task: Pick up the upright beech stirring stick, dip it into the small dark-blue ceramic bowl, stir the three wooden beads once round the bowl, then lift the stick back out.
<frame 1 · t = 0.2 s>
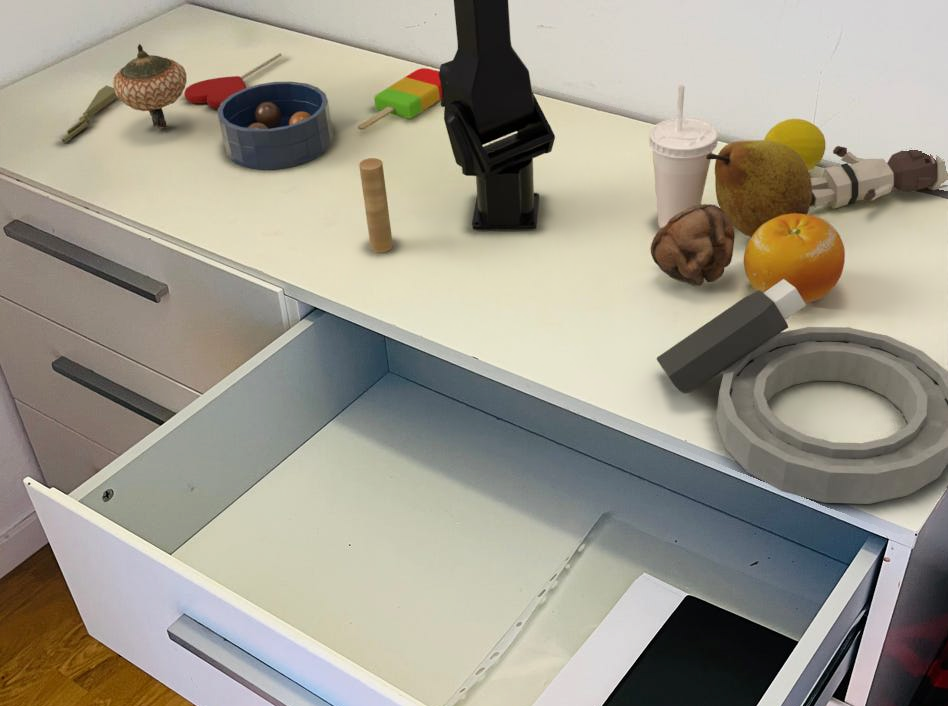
fruit: (789, 293, 106), on the table
fruit 2: (784, 217, 114), point 1 cm above the table
bead b: (258, 136, 130), point 2 cm above the table, touching bowl
brown walnut half: (712, 272, 105), point 3 cm above the table
bowl: (279, 143, 133), on the table
toy: (796, 197, 116), point 1 cm above the table
bead a: (268, 115, 134), point 2 cm above the table, touching bowl
lollipop: (243, 83, 145), on the table
usb drive: (722, 322, 95), point 5 cm above the table, touching mechanical component
olive green tapered piece: (88, 119, 140), on the table
acorn: (162, 130, 138), on the table
popsicle: (401, 111, 138), on the table
bead c: (302, 125, 131), point 2 cm above the table, touching bowl
smoothie: (677, 226, 116), on the table
fruit 3: (761, 147, 118), point 4 cm above the table
mechanical component: (833, 426, 93), on the table, touching usb drive
stick: (381, 246, 116), on the table
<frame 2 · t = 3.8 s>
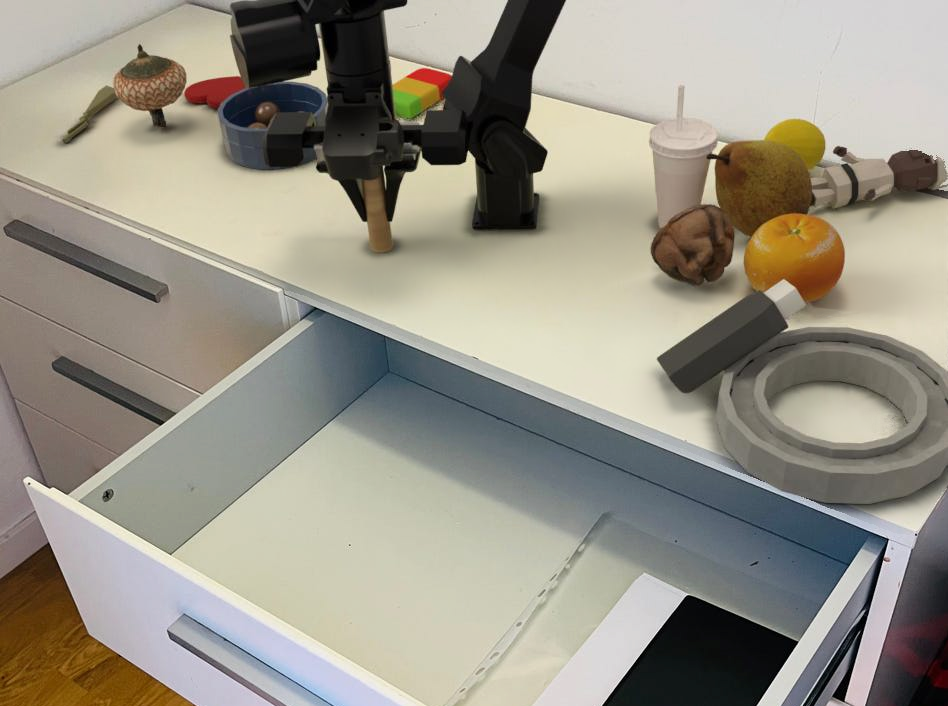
hand: (378, 219, 114), 3 cm above the table, tool pointing down, fingers closed on stick, 2 cm apart
stick: (381, 246, 116), on the table, touching gripper
everything else where it was.
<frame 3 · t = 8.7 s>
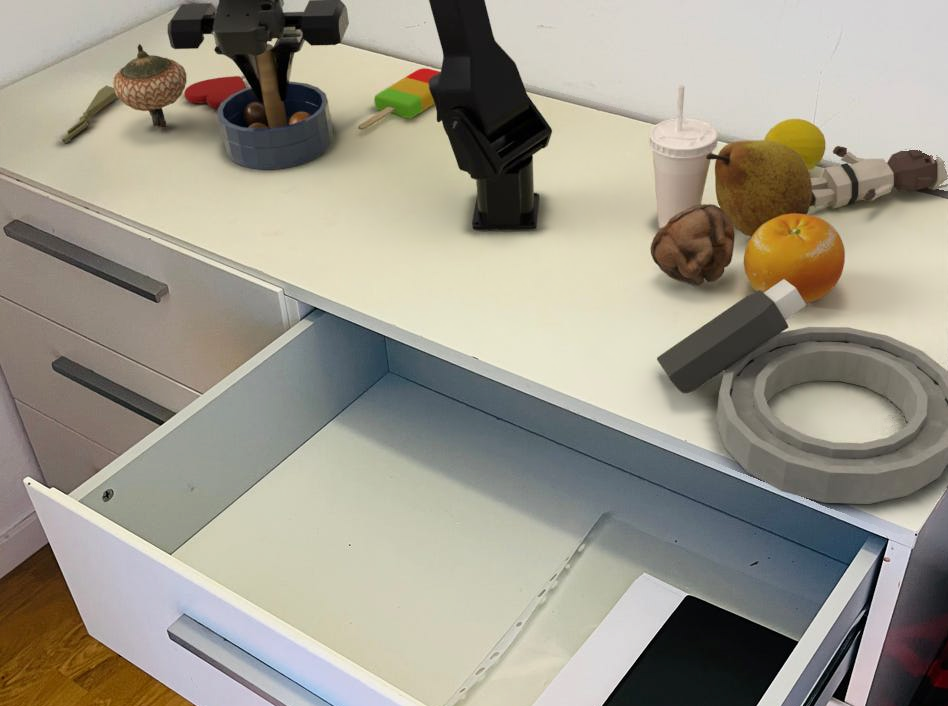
hand: (273, 100, 132), 4 cm above the table, tool pointing down, fingers closed on stick, 2 cm apart
bead a: (256, 115, 134), point 2 cm above the table, tilted 53°, touching bowl, stick
stick: (278, 125, 134), point 1 cm above the table, touching bead a, gripper
everything else where it was.
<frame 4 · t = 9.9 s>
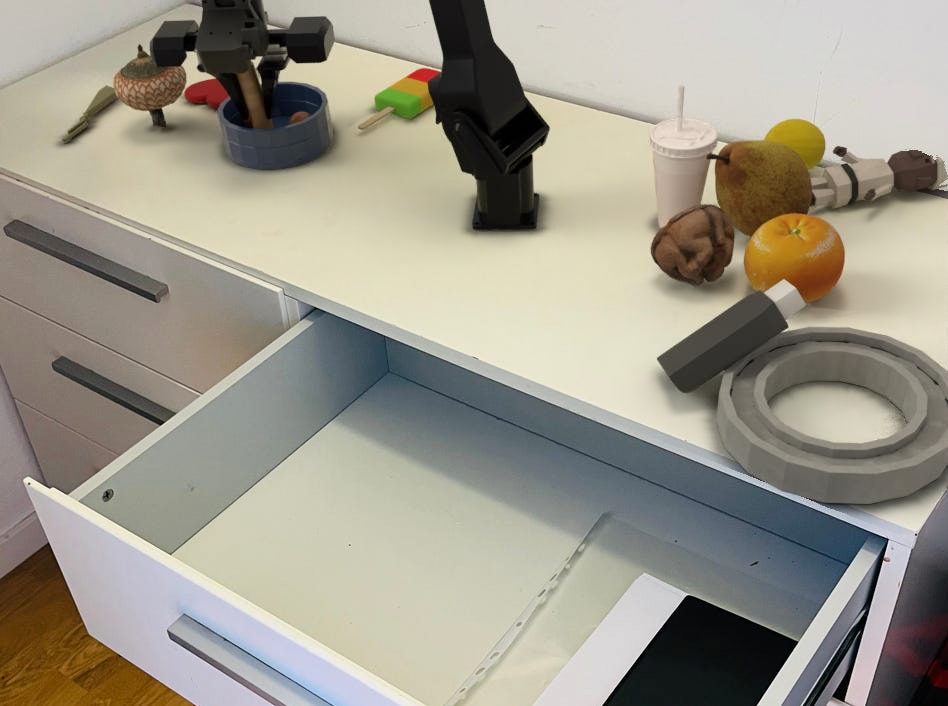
hand: (258, 118, 129), 4 cm above the table, tool pointing down, fingers closed on stick, 2 cm apart
bead b: (257, 141, 129), point 2 cm above the table, tilted 43°, touching bowl, stick
bead a: (254, 118, 133), point 2 cm above the table, tilted 35°, touching bowl
stick: (268, 142, 132), point 1 cm above the table, tilted 7°, touching bead b, gripper
everything else where it was.
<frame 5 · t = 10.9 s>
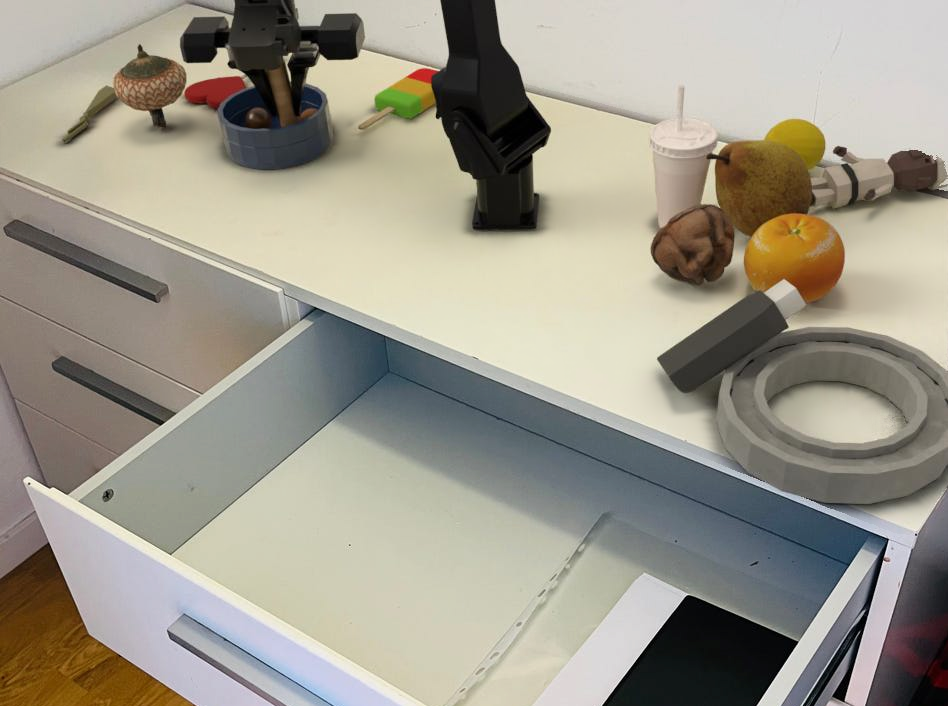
hand: (286, 115, 129), 4 cm above the table, tool pointing down, fingers closed on stick, 2 cm apart
bead b: (264, 142, 129), point 2 cm above the table, tilted 42°, touching bowl
bead a: (258, 121, 133), point 2 cm above the table, tilted 25°, touching bowl
bead c: (312, 122, 132), point 2 cm above the table, tilted 45°, touching bowl, stick
stick: (294, 139, 132), point 1 cm above the table, touching bead c, gripper
everything else where it was.
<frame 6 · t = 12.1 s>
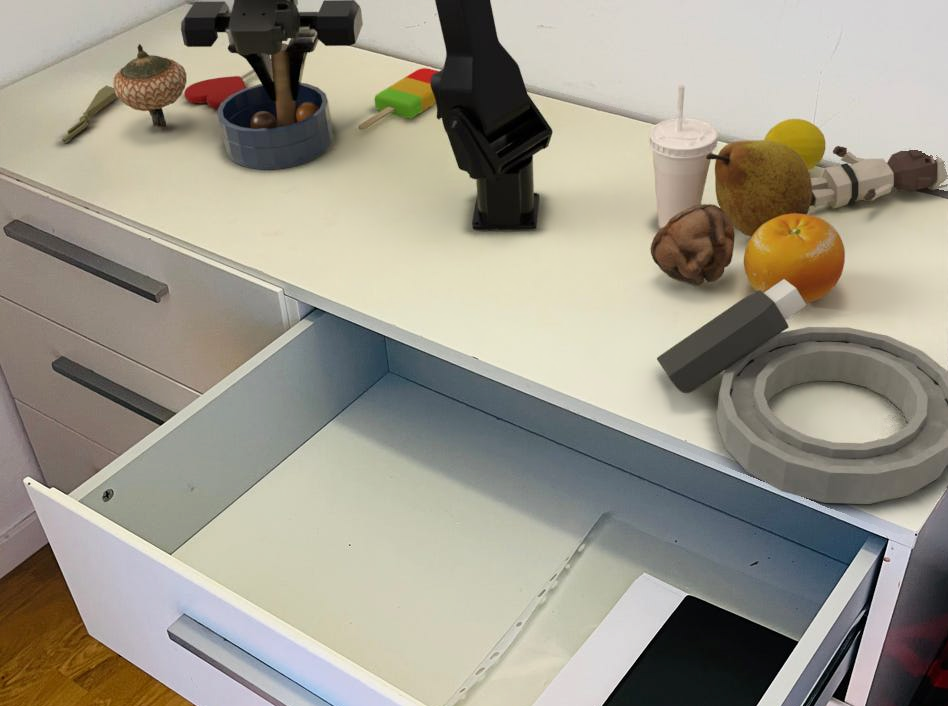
hand: (284, 99, 132), 4 cm above the table, tool pointing down, fingers closed on stick, 2 cm apart
bead a: (263, 124, 132), point 2 cm above the table, tilted 61°, touching bowl
bead c: (308, 115, 133), point 2 cm above the table, tilted 43°, touching bowl, stick
stick: (287, 125, 134), point 1 cm above the table, touching bead c, gripper
everything else where it was.
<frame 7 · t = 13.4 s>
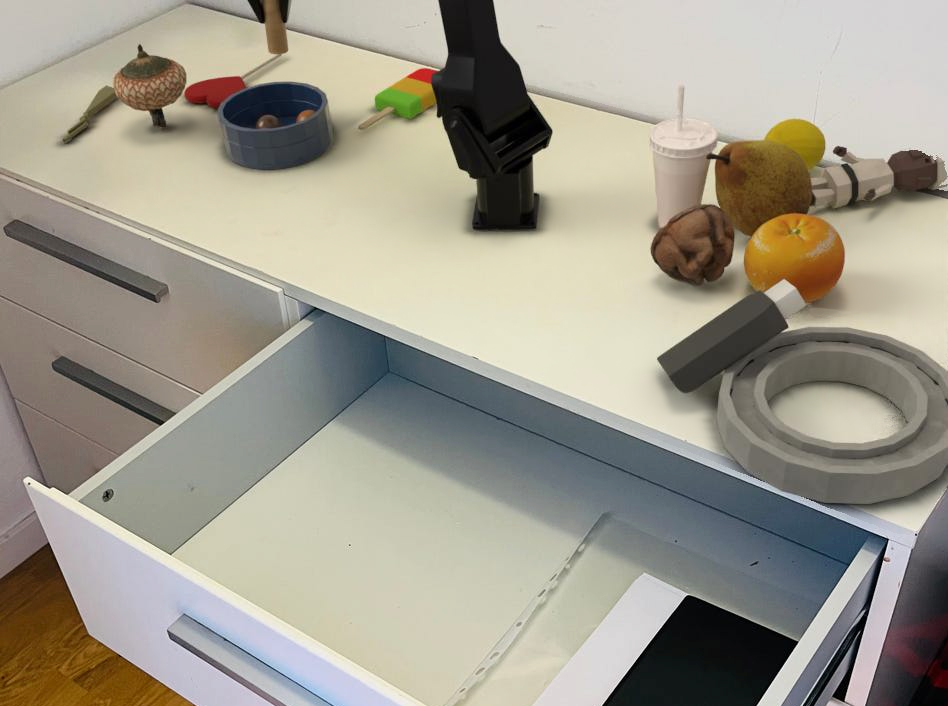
hand: (274, 22, 126), 13 cm above the table, tool pointing down, fingers closed on stick, 2 cm apart
bead a: (269, 128, 131), point 2 cm above the table, tilted 106°, touching bowl
bead c: (309, 123, 132), point 2 cm above the table, tilted 89°, touching bowl
stick: (278, 50, 128), point 10 cm above the table, touching gripper
everything else where it was.
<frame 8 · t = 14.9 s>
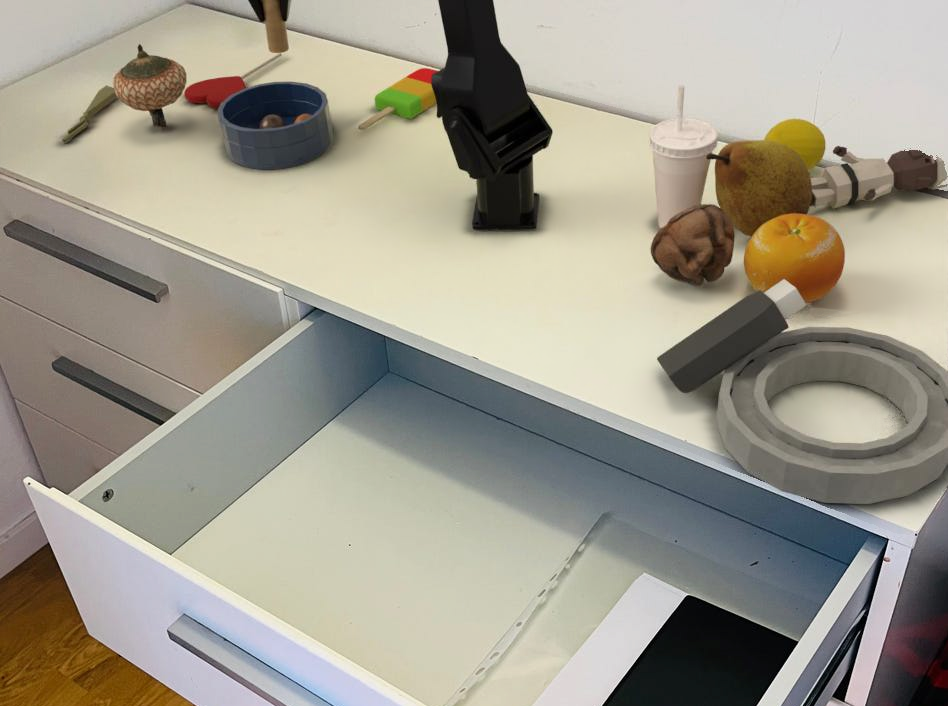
hand: (274, 20, 126), 13 cm above the table, tool pointing down, fingers closed on stick, 2 cm apart
bead b: (269, 141, 129), point 2 cm above the table, tilted 26°, touching bowl
bead c: (307, 127, 131), point 2 cm above the table, tilted 100°, touching bowl
stick: (278, 49, 128), point 10 cm above the table, touching gripper
at the end: bead a moved 3.5 cm from its start; bead a inside the target area in the bowl (0.6 cm from its centre), point 2.1 cm above the bowl's base; stick point 9.7 cm above the table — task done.
